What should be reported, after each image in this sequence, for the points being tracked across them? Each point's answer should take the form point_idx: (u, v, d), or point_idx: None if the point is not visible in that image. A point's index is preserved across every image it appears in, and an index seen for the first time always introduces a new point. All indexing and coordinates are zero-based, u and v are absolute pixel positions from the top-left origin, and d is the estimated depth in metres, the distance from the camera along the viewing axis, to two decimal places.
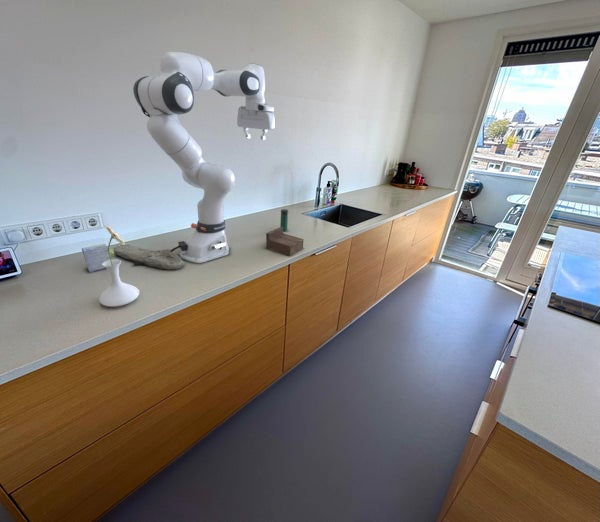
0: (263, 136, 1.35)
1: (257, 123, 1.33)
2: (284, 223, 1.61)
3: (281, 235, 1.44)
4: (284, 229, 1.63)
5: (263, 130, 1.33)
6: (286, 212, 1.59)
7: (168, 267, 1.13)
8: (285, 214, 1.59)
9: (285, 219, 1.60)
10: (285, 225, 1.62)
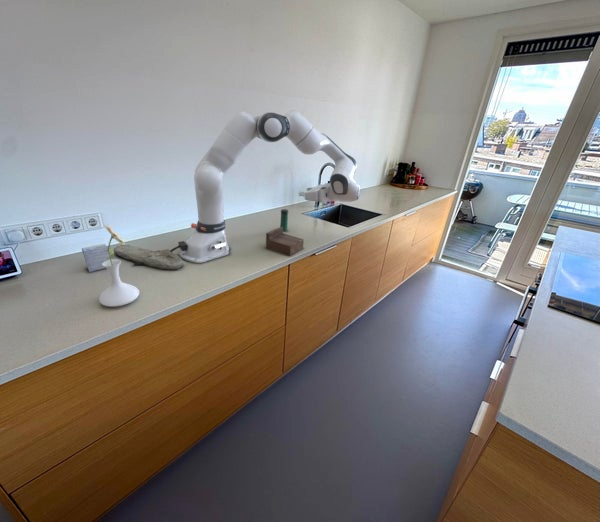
0: (301, 193, 1.45)
1: (313, 189, 1.44)
2: (284, 223, 1.61)
3: (281, 235, 1.44)
4: (284, 229, 1.63)
5: None
6: (286, 212, 1.59)
7: (168, 267, 1.13)
8: (285, 214, 1.59)
9: (285, 219, 1.60)
10: (285, 225, 1.62)
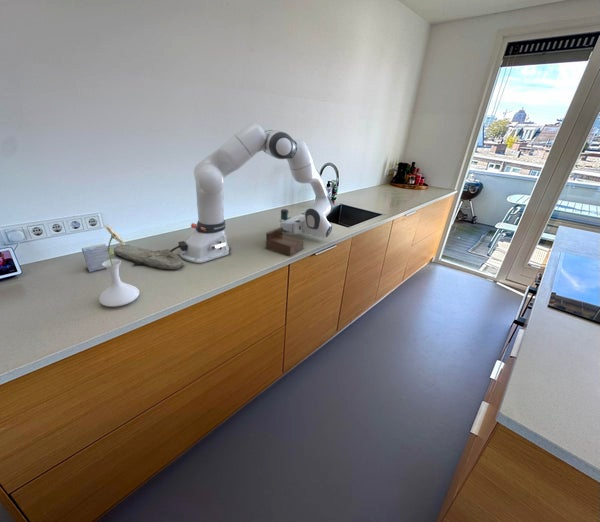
0: (281, 220, 1.59)
1: (290, 220, 1.57)
2: None
3: (281, 235, 1.44)
4: None
5: (285, 220, 1.58)
6: (286, 212, 1.59)
7: (168, 267, 1.13)
8: (285, 214, 1.59)
9: (285, 219, 1.60)
10: None
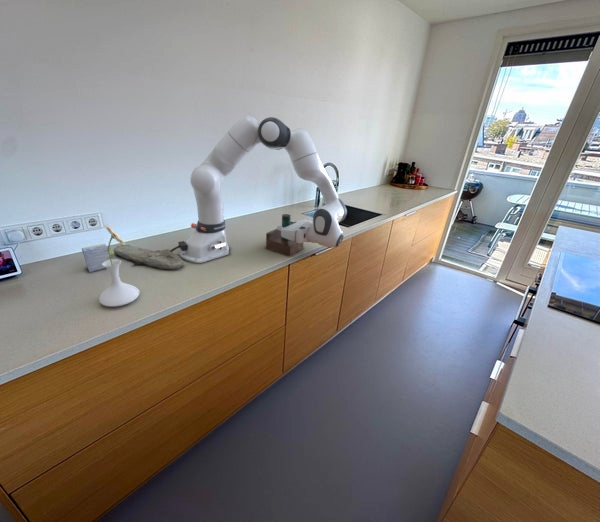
0: (280, 227, 1.32)
1: (293, 226, 1.31)
2: None
3: None
4: None
5: (284, 227, 1.30)
6: (288, 218, 1.34)
7: (168, 267, 1.13)
8: (287, 220, 1.34)
9: None
10: None
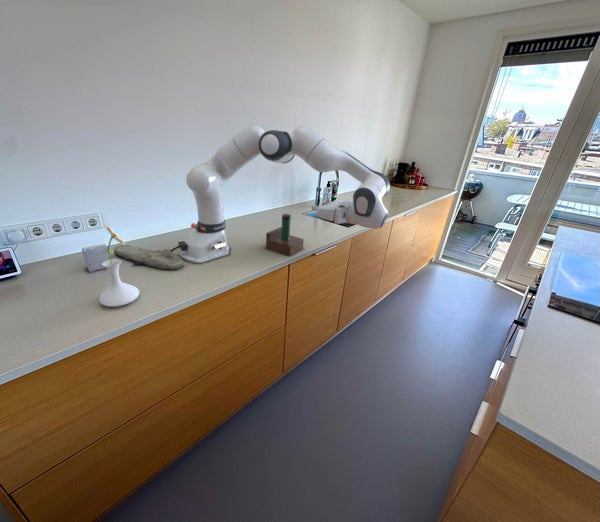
0: (315, 207, 1.19)
1: (330, 205, 1.18)
2: (286, 231, 1.36)
3: None
4: (286, 238, 1.38)
5: None
6: (288, 218, 1.34)
7: (168, 267, 1.13)
8: (287, 220, 1.34)
9: (287, 226, 1.35)
10: (287, 233, 1.37)
